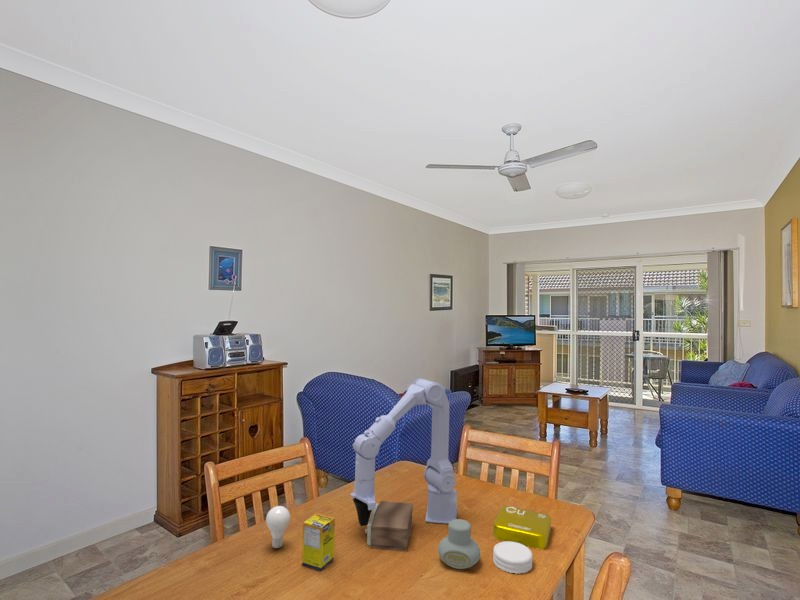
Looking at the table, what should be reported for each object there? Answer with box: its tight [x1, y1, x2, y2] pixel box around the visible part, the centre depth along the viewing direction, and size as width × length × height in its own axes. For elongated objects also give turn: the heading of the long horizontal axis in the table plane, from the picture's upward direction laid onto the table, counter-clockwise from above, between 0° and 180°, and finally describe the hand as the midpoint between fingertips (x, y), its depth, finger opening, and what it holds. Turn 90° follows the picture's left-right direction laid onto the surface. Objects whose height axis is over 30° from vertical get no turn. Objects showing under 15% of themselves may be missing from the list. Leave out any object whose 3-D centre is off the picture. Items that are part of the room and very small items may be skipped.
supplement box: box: [301, 513, 336, 572], centre depth 115 cm, size 6×6×11 cm
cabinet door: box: [364, 502, 379, 547], centre depth 131 cm, size 2×15×6 cm, turn 175°
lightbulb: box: [265, 505, 291, 549], centre depth 122 cm, size 6×6×11 cm
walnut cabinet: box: [370, 500, 413, 552], centre depth 130 cm, size 10×16×6 cm, turn 173°
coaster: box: [492, 541, 533, 575], centre depth 117 cm, size 10×10×4 cm
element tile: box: [492, 505, 552, 550], centre depth 133 cm, size 15×15×5 cm
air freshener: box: [437, 518, 481, 570], centre depth 117 cm, size 11×8×10 cm
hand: (363, 524), depth 129 cm, fingers closed
